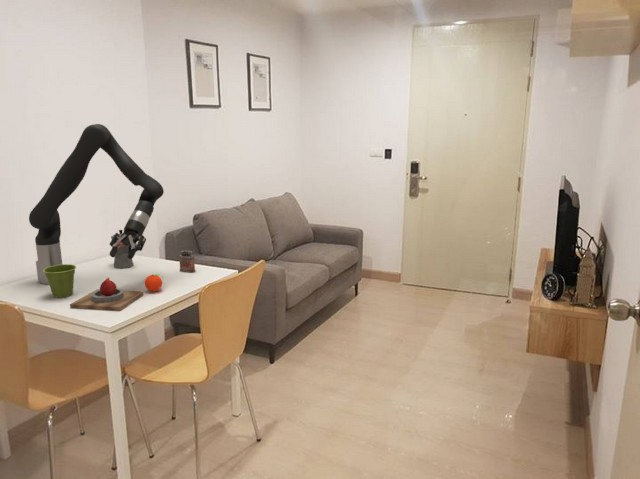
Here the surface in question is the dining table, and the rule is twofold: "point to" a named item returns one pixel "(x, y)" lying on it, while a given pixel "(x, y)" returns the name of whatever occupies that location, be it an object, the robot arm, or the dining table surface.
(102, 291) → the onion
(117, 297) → the ring
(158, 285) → the clementine
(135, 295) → the board
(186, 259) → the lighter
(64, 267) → the plant pot
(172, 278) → the dining table surface
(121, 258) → the coffeepot
